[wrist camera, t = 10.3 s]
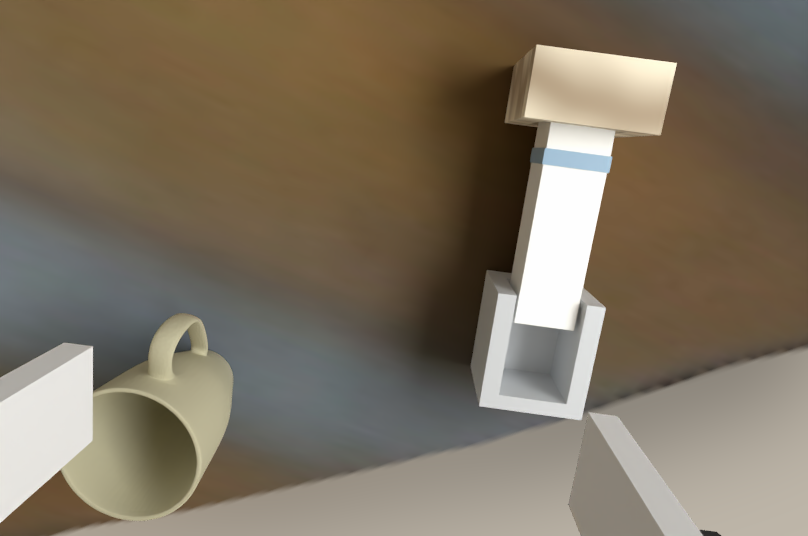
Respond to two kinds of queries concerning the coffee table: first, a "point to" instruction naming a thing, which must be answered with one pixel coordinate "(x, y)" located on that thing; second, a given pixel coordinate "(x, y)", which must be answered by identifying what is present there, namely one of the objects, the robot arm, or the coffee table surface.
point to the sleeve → (532, 355)
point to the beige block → (590, 91)
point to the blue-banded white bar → (559, 222)
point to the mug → (155, 427)
